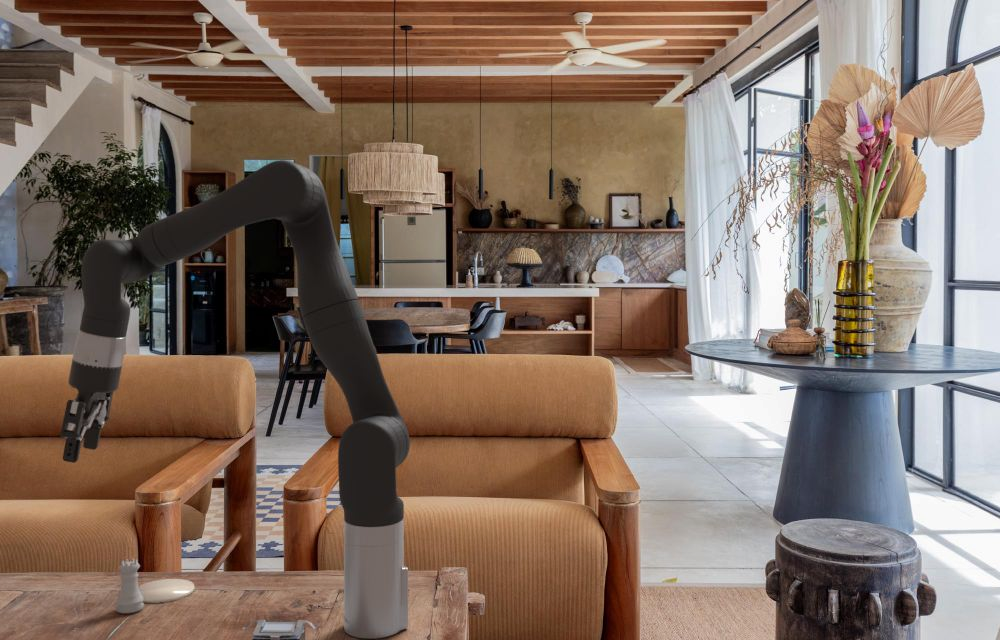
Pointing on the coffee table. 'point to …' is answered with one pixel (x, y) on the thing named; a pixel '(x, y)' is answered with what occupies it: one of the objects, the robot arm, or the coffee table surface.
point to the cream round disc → (166, 590)
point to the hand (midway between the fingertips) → (80, 454)
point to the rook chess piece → (129, 589)
